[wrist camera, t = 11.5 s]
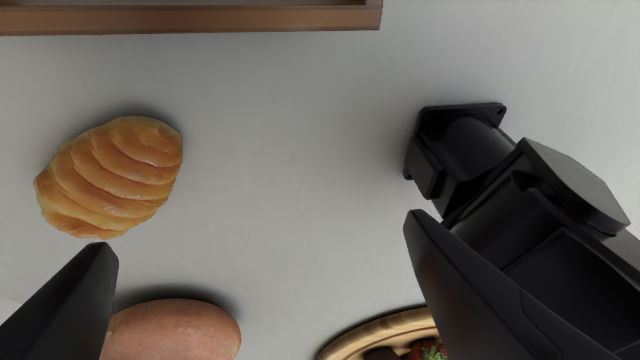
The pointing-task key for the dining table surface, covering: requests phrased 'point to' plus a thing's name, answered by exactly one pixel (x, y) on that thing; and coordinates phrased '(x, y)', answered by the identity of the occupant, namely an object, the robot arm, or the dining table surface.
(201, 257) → the dining table surface
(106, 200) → the pastry
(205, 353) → the ceramic jug
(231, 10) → the wooden box
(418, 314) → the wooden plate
